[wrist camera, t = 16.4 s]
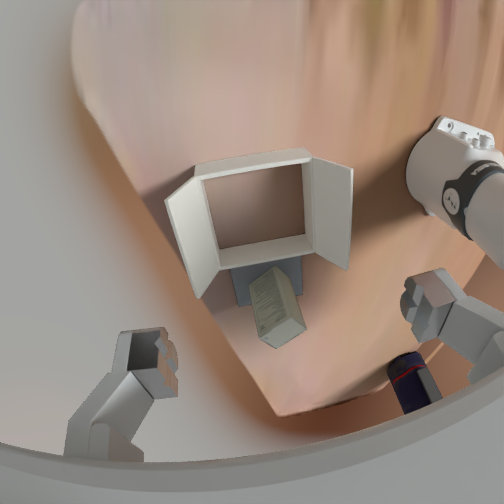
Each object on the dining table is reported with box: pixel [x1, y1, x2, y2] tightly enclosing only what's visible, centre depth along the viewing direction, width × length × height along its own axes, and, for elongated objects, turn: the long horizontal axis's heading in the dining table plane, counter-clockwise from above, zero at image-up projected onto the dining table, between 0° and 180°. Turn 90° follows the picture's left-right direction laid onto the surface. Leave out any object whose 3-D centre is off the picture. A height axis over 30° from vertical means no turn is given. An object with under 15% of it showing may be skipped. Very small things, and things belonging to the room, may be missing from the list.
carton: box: [164, 147, 353, 299], centre depth 42 cm, size 22×15×10 cm
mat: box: [230, 256, 303, 307], centre depth 54 cm, size 12×10×1 cm
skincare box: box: [249, 266, 307, 349], centre depth 49 cm, size 6×4×12 cm
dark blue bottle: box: [387, 351, 443, 415], centre depth 70 cm, size 14×12×30 cm
